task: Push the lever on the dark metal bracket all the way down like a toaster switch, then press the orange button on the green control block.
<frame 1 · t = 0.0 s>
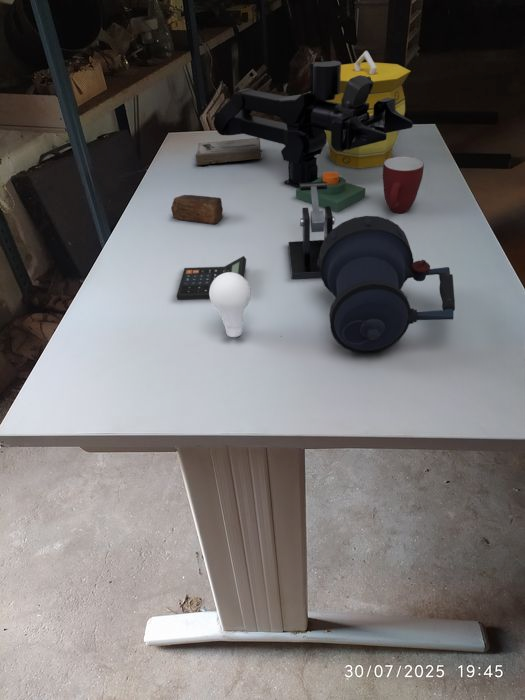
hand: (399, 130, 106), 17 cm above the table, tool horizontal, fingers open, 9 cm apart
container: (360, 158, 142), on the table
bracket: (316, 261, 101), on the table
lightbulb: (234, 336, 84), on the table
lever: (315, 204, 98), point 9 cm above the table, hinge at 20.0°
box: (229, 159, 147), on the table
brick: (198, 219, 118), on the table
mug: (397, 212, 116), on the table
flashlight: (383, 326, 84), on the table
button: (330, 178, 120), point 4 cm above the table, slide at 0.1 cm
calculator: (213, 285, 97), on the table
button block: (330, 198, 123), on the table
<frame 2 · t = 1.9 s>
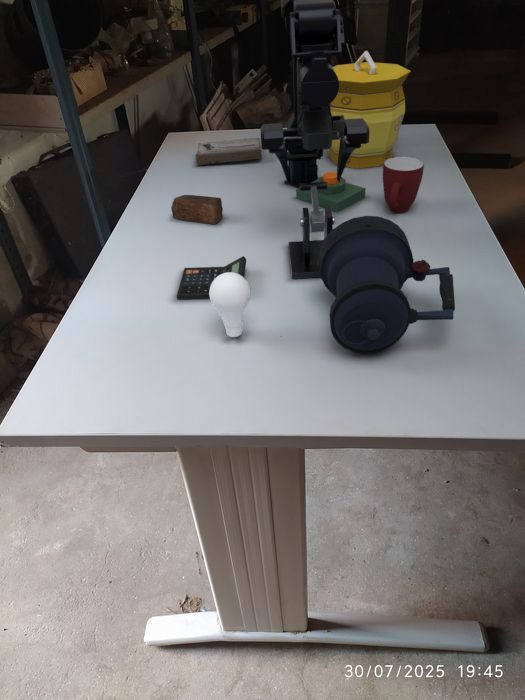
hand: (313, 181, 100), 12 cm above the table, tool pointing down, fingers open, 9 cm apart
nothing on the table moved.
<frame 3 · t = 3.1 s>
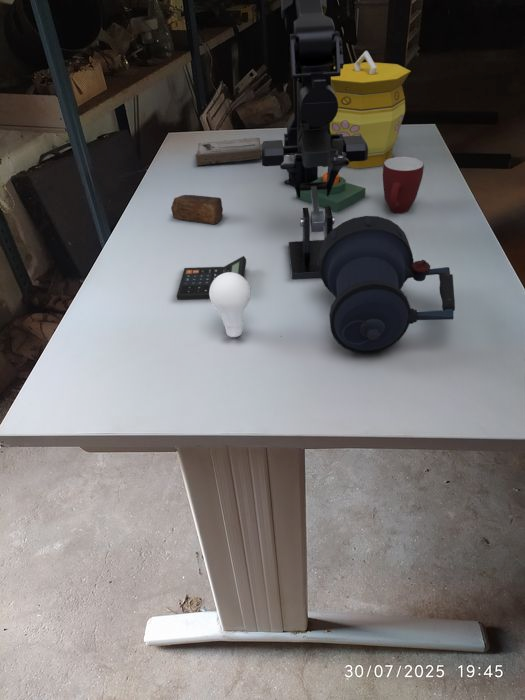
hand: (313, 196, 102), 9 cm above the table, tool pointing down, fingers closed on lever, 5 cm apart
lever: (315, 204, 98), point 9 cm above the table, hinge at 20.0°, touching gripper
everything else where it was.
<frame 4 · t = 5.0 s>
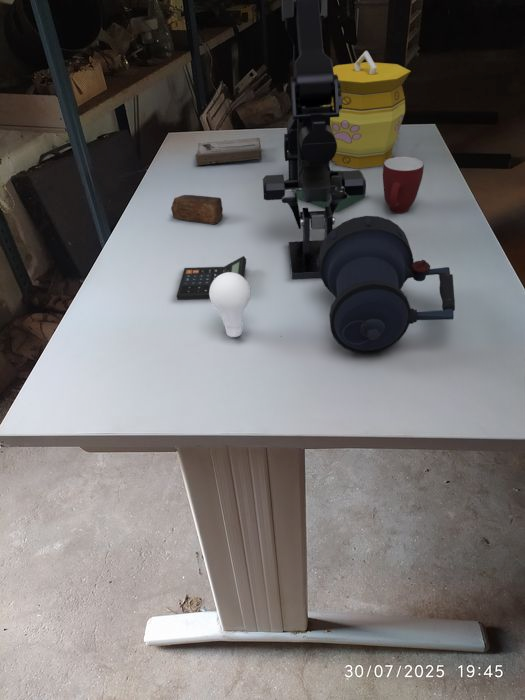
hand: (313, 227, 106), 3 cm above the table, tool pointing down, fingers closed on lever, 5 cm apart
lever: (315, 218, 100), point 7 cm above the table, hinge at -17.6°, touching gripper
everything else where it was.
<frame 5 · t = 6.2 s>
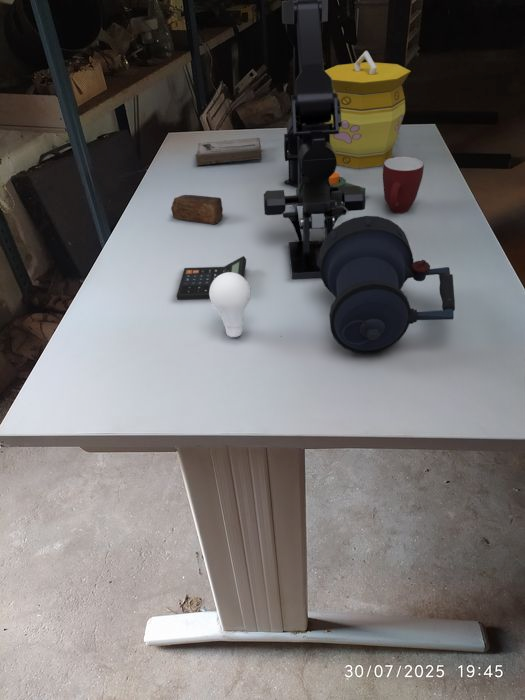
hand: (313, 242, 107), 0 cm above the table, tool pointing down, fingers closed on lever, 5 cm apart
lever: (315, 223, 100), point 6 cm above the table, hinge at -29.5°, touching gripper
everything else where it was.
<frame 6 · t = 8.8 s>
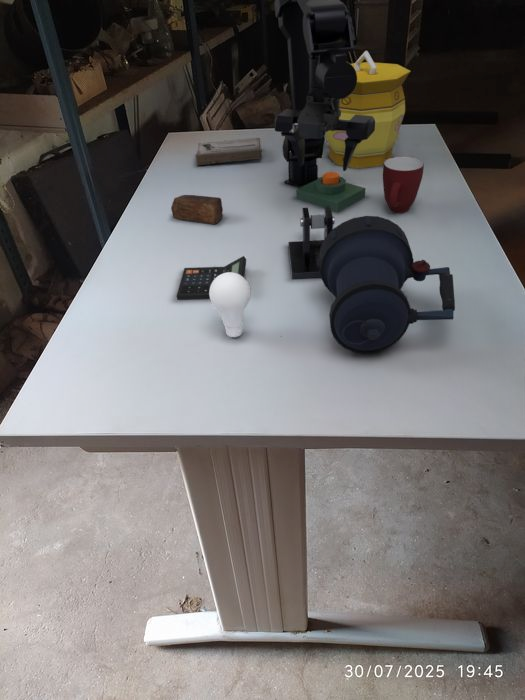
hand: (323, 167, 109), 11 cm above the table, tool pointing down, fingers open, 9 cm apart
lever: (315, 221, 100), point 6 cm above the table, hinge at -25.8°
everything else where it was.
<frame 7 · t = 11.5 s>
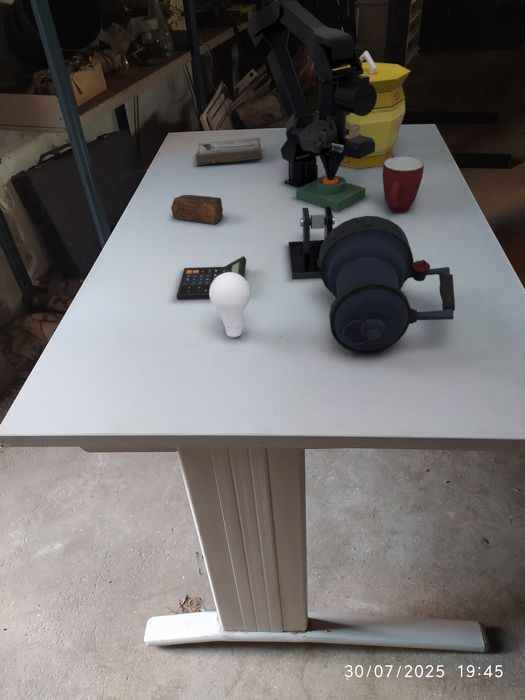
hand: (330, 179, 120), 4 cm above the table, tool pointing down, fingers closed, pressing on button
button: (330, 183, 121), point 3 cm above the table, slide at -0.9 cm, touching gripper
everything else where it was.
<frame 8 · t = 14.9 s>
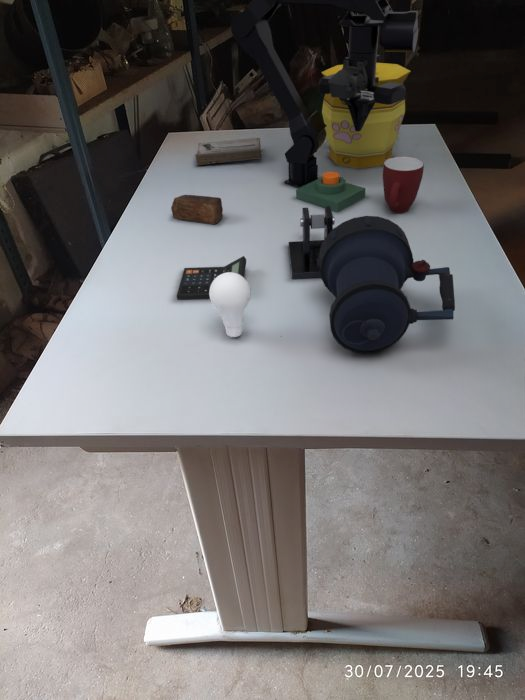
hand: (358, 130, 119), 13 cm above the table, tool pointing down, fingers closed
button: (330, 178, 120), point 4 cm above the table, slide at 0.1 cm
everything else where it was.
at the end: lever at -26° (first picture: +20°); button pushed in 1.2 cm at the most during the clip, back to where it started at the end; button slide at 0.1 cm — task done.
